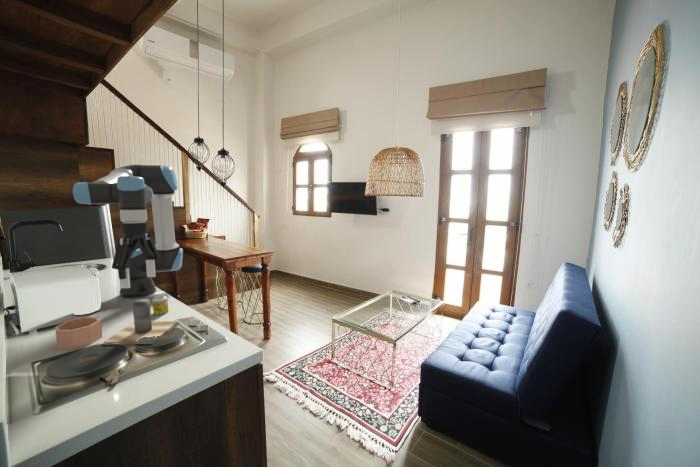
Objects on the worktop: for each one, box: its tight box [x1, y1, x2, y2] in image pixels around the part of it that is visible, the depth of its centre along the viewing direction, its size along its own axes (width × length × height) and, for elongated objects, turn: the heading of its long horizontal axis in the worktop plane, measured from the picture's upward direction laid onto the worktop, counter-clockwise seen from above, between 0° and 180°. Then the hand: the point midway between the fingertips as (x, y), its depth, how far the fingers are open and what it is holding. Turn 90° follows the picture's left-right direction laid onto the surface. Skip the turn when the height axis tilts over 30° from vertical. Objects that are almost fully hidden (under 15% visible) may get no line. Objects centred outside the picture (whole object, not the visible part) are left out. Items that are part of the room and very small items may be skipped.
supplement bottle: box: [152, 290, 169, 316], centre depth 125 cm, size 5×5×10 cm
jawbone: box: [104, 369, 122, 386], centre depth 89 cm, size 9×20×2 cm, turn 167°
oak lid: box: [102, 298, 179, 344], centre depth 106 cm, size 16×16×12 cm
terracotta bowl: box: [54, 316, 103, 350], centre depth 101 cm, size 11×11×7 cm
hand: (139, 282), depth 104 cm, fingers open, 13 cm apart
